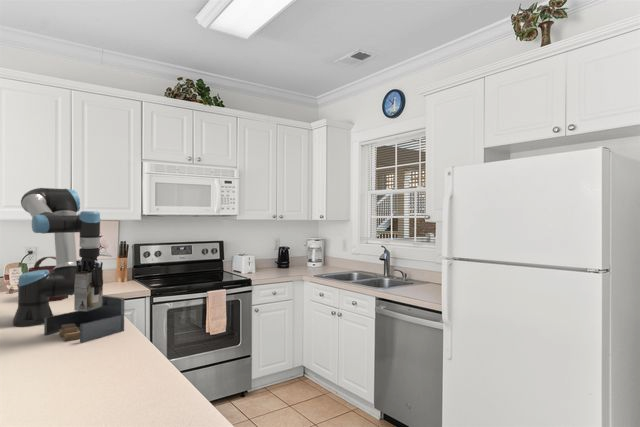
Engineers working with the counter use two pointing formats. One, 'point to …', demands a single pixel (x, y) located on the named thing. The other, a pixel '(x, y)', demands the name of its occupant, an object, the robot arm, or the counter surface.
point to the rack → (91, 320)
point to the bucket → (50, 268)
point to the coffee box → (85, 292)
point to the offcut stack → (69, 332)
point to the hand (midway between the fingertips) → (88, 301)
